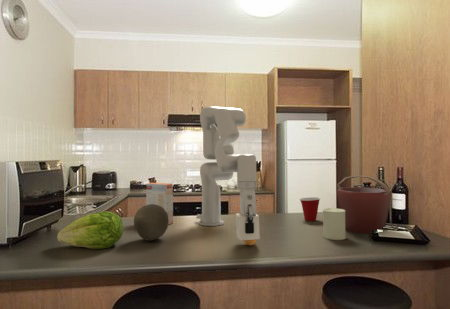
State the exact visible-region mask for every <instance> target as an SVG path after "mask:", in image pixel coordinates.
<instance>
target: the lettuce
mask: <svg viewBox="0 0 450 309" xmlns="http://www.w3.org/2000/svg"><path fill="white" fill-rule="evenodd" d="M123 234H124V223H123V219H122V217H120V216H119V215H118V214H116V212H115V213H114V212H111V211H106V210H105V211H98V212H94V213H90V214H87V215H84V216H82V217H80V218H78V219H76V220H74V221H72V222H71V223H69V224H68V225H67V226H65V227H64V228H62V229H61V230H59V232H58V233H57V237H56V238H57V240H58V242H60V243H62V244H67V245H71V246H74V247H78V248H87V249H93V250H94V249H99V250H100V249H103V250H104V249H109V248H111V247H112V246H113V245H115V244H117V243H118V242H120V239H121V238H122V237H123Z"/></svg>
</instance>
